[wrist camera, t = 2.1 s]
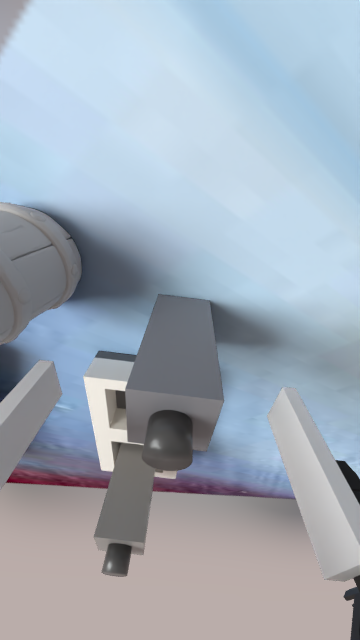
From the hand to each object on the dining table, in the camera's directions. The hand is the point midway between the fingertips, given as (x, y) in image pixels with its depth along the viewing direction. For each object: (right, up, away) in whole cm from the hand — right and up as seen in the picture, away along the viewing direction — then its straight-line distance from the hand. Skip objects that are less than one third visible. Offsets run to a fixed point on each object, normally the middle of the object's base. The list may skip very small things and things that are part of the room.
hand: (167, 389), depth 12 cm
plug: (+1, +4, +6) cm, 8 cm away
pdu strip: (-4, -7, +14) cm, 16 cm away
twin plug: (-4, -12, +15) cm, 20 cm away
